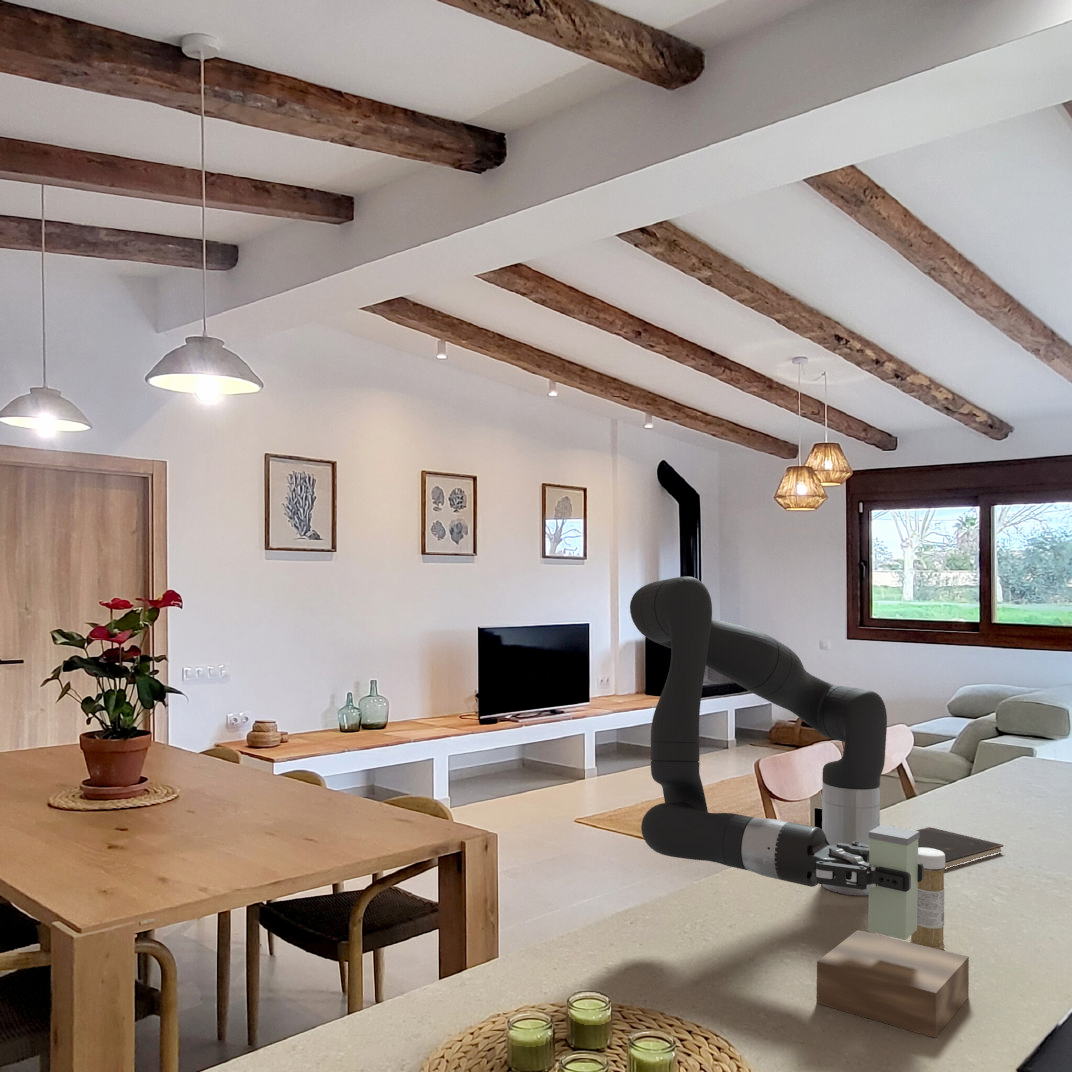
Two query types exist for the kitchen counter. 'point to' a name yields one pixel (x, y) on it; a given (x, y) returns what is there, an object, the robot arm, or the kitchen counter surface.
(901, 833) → the green tin canister
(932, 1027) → the walnut block
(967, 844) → the hardcover book
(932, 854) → the sprinkles bottle
